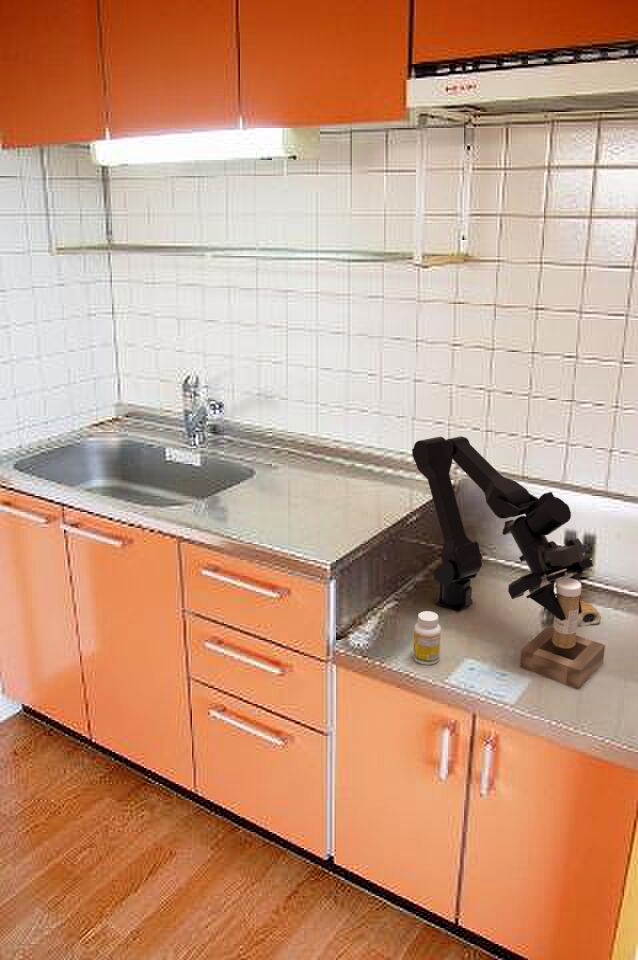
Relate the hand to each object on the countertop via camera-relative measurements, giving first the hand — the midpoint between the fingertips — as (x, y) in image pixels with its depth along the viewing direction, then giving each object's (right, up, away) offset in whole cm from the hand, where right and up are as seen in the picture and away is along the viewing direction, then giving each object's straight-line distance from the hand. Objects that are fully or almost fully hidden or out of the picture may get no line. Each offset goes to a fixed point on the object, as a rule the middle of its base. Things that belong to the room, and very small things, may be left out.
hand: (571, 616), depth 152 cm
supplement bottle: (-27, -10, +7) cm, 30 cm away
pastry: (+9, -4, +23) cm, 25 cm away
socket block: (-1, -10, +5) cm, 11 cm away
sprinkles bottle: (0, -6, +3) cm, 7 cm away
